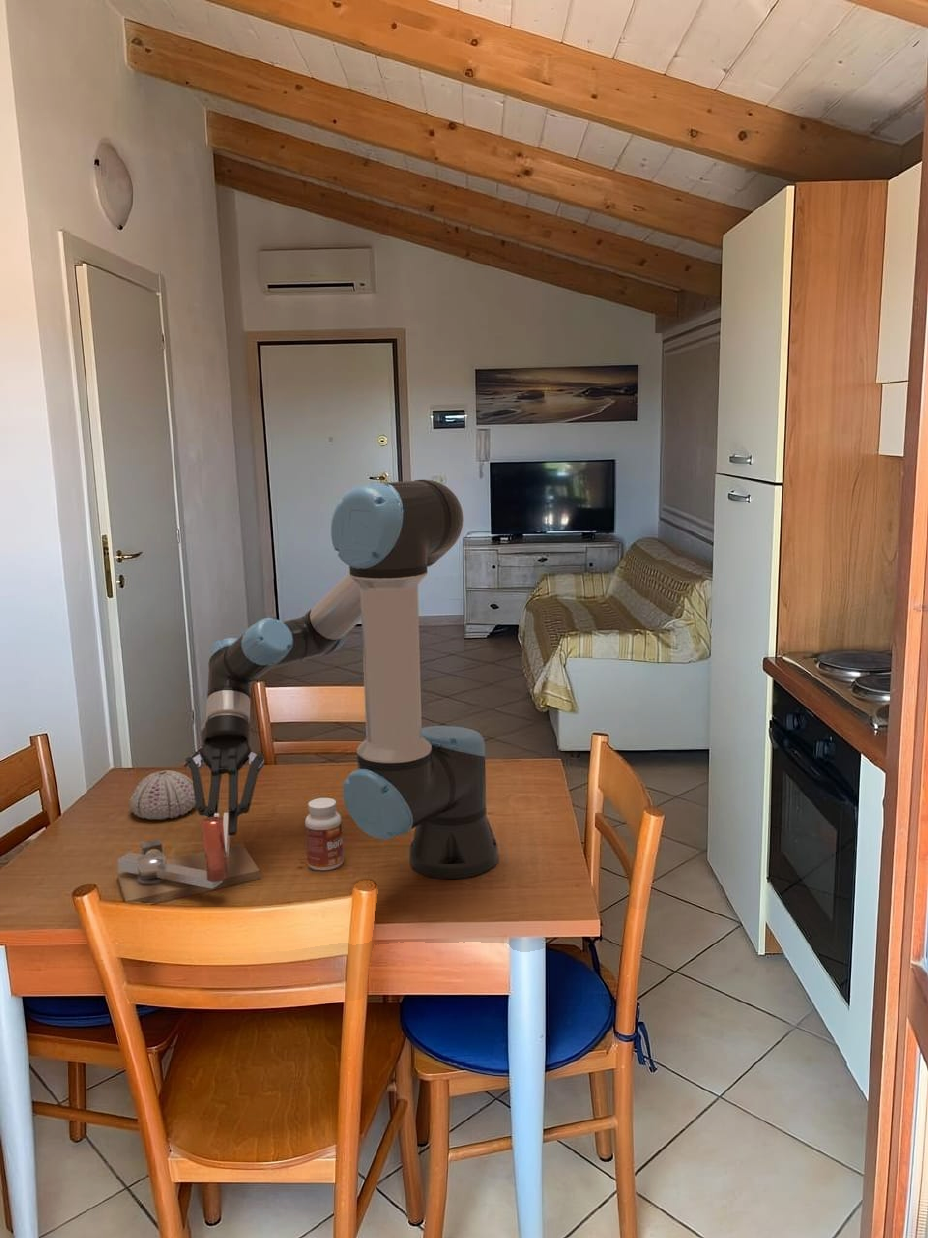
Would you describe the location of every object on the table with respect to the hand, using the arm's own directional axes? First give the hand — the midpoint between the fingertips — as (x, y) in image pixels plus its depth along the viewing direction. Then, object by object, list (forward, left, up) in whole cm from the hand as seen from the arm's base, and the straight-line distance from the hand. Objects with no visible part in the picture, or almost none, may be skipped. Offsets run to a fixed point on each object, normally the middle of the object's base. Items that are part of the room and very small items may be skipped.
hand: (220, 854), depth 150 cm
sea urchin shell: (+39, -9, -7) cm, 41 cm away
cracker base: (+9, +1, -6) cm, 12 cm away
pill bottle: (-4, -17, -7) cm, 19 cm away
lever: (+6, +5, -4) cm, 9 cm away
